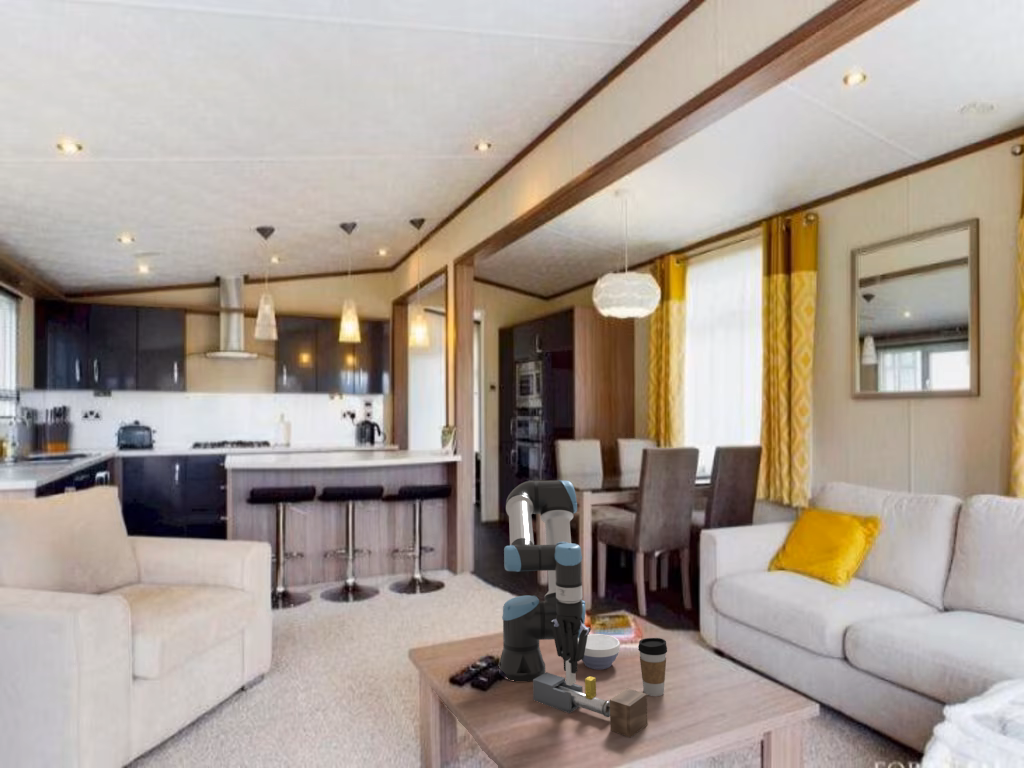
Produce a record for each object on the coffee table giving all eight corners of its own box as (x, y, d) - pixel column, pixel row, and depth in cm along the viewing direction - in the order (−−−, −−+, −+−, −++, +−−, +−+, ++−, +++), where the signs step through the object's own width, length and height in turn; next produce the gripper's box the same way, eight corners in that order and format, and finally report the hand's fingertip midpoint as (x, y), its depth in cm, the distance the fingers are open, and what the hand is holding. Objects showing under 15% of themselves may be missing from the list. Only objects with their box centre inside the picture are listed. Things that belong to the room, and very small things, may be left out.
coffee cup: (668, 699, 191) (667, 647, 191) (639, 697, 192) (637, 645, 193) (667, 686, 199) (666, 636, 199) (639, 684, 201) (638, 635, 201)
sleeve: (533, 700, 192) (533, 679, 192) (547, 692, 197) (546, 672, 197) (569, 713, 183) (569, 691, 184) (582, 704, 188) (582, 683, 189)
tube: (540, 697, 192) (540, 666, 192) (549, 692, 195) (548, 662, 195) (605, 719, 177) (604, 686, 178) (613, 714, 180) (612, 681, 181)
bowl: (629, 664, 217) (628, 640, 217) (602, 678, 206) (602, 653, 206) (594, 652, 227) (593, 630, 227) (566, 665, 217) (566, 642, 217)
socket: (610, 730, 173) (609, 699, 174) (627, 717, 180) (627, 687, 181) (630, 737, 170) (629, 706, 170) (647, 724, 176) (646, 693, 177)
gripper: (542, 598, 189) (544, 681, 188) (580, 607, 181) (582, 694, 180) (558, 592, 195) (560, 673, 194) (595, 600, 186) (597, 684, 186)
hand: (570, 683), depth 187 cm, fingers closed
